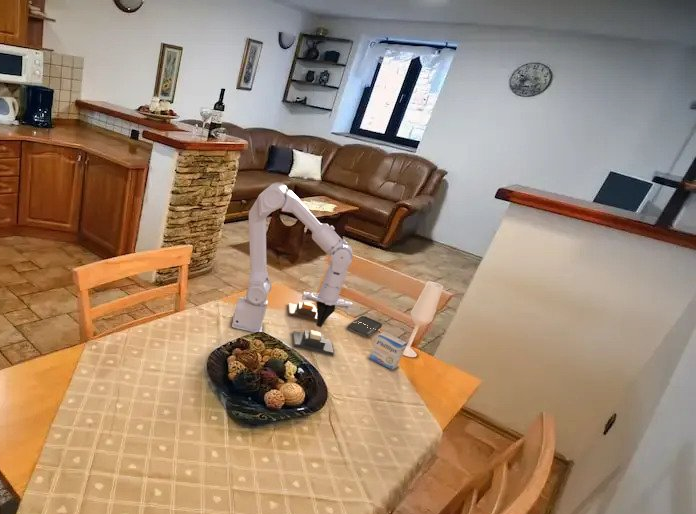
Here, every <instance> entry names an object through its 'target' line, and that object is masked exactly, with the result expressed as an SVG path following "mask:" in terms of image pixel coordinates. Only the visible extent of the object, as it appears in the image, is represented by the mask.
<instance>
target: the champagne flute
mask: <svg viewBox="0 0 696 514" xmlns="http://www.w3.org/2000/svg"><path fill="white" fill-rule="evenodd" d="M443 289H444V285H442V284H441V283H438V282H436V281H431V280H428V281H427V282H426V283H425V286H424V287H423V289H422V291H421V293H420V294H419V297H418V298H417V300H416V302H415V304H414V305H413V308H412V310H411V311H410V319H411V321H412V323H413V324H414V328H413V330H412V333H411V334H410V337H409V340H408V341H407V343H408V344H407V346H406V348H405V350H404V353H403V355H402V356H405V357H408V358H415V357H417V355H418V354H417V353H416V352H415V350H414V349H413V348H412V344H413V342H414V340H415V337H416V335H417V333H418V331H419V329H420V327H424V326H426V325H429V324H430V323H431V322H433V319H434V317H435V314H436V310H437V308H438V305H439V302H440V299H441V295H442V292H443Z"/></svg>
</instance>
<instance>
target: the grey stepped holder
mask: <svg viewBox="0 0 696 514" xmlns="http://www.w3.org/2000/svg"><path fill="white" fill-rule="evenodd" d="M309 333H310V330H306V329H304V331H303V332H300V331H295V330H293V332H292V341H293V342H292V345H293V348H296V349H301V350H305V351H310V352H314V353H318V354H323V355H327V356H331V357H333V356H334V354H335V351H334V347H333V342H332V339H330V338H326V337H325V334H323V333H321V340H316V339H312V338H310V336H309Z"/></svg>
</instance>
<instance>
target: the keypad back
mask: <svg viewBox="0 0 696 514" xmlns="http://www.w3.org/2000/svg"><path fill="white" fill-rule="evenodd" d="M287 311H288V316H289V317H293V318H297V319H302V320H306V321H310V322H314V323H317V305H315V304H313V309H312V310H310V309H305V308H303V302H301V301H298V302H297V304H295V303H291V302H288V304H287Z"/></svg>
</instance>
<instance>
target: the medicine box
mask: <svg viewBox="0 0 696 514" xmlns="http://www.w3.org/2000/svg"><path fill="white" fill-rule="evenodd" d="M375 339H376V340H375V341H374V344H373V346H372V348H371V351H370V354H369V356H368V359H369V360H371V361H373V362H375V363H377V364H379V365H381V366H383V367H385V368H387V369H389V370H391V371H392V370H395V369H396V368H397V367H398V366H399V365H400V362H401V359H402V358H403V356H404V355H403V353H404V350H405V348H406V346H407V344H408V341H405V340H403V339H401V338H399V337H396V336H394V335H392V334H391V333H388V332H386V331H382V332H380V333H379V334H377V337H376V338H375Z"/></svg>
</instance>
